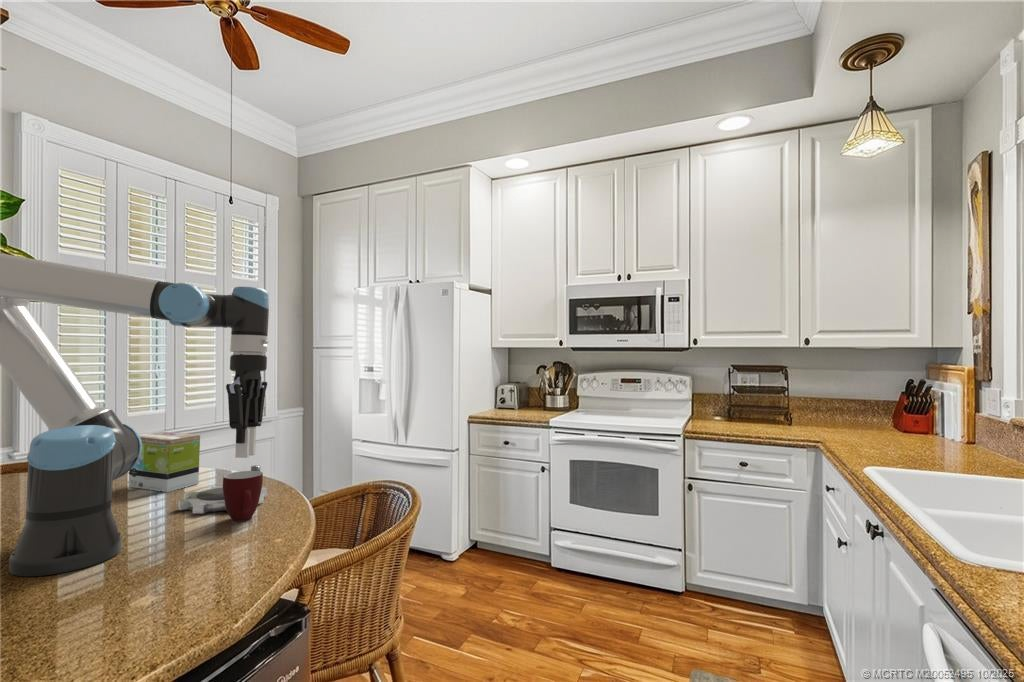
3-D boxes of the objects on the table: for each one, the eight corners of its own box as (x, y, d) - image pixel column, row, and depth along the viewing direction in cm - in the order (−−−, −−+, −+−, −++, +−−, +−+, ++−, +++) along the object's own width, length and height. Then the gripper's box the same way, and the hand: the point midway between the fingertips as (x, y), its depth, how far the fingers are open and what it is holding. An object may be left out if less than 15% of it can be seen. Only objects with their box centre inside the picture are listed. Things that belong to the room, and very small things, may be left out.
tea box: (126, 488, 136) (128, 435, 137) (161, 480, 146) (163, 430, 147) (166, 493, 132) (168, 438, 133) (200, 484, 142) (201, 433, 142)
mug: (270, 521, 110) (272, 476, 111) (231, 529, 104) (232, 483, 105) (254, 510, 118) (256, 469, 118) (217, 518, 112) (218, 474, 112)
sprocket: (175, 518, 110) (177, 483, 110) (180, 497, 126) (181, 466, 127) (270, 506, 120) (271, 473, 120) (263, 488, 137) (264, 459, 137)
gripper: (246, 353, 105) (242, 463, 104) (280, 354, 120) (277, 450, 119) (212, 353, 105) (208, 462, 104) (250, 354, 120) (247, 450, 119)
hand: (245, 456), depth 112 cm, fingers open, 2 cm apart
